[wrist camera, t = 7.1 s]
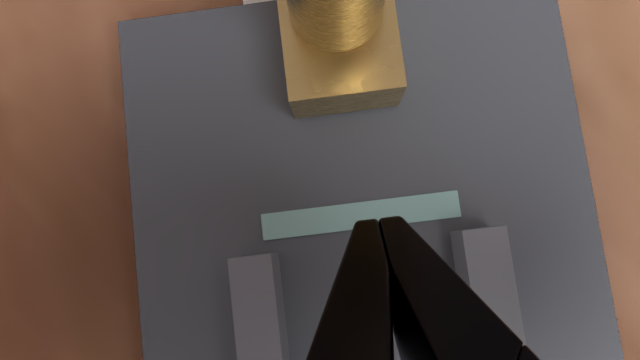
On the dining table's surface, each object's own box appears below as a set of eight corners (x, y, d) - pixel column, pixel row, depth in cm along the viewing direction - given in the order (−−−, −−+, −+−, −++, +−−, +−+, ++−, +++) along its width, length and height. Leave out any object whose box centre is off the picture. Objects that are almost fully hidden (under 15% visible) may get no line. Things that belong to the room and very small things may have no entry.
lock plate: (629, 566, 16) (714, 664, 12) (188, 610, 16) (143, 717, 13) (527, -7, 18) (573, -68, 14) (142, 44, 18) (93, -2, 15)
